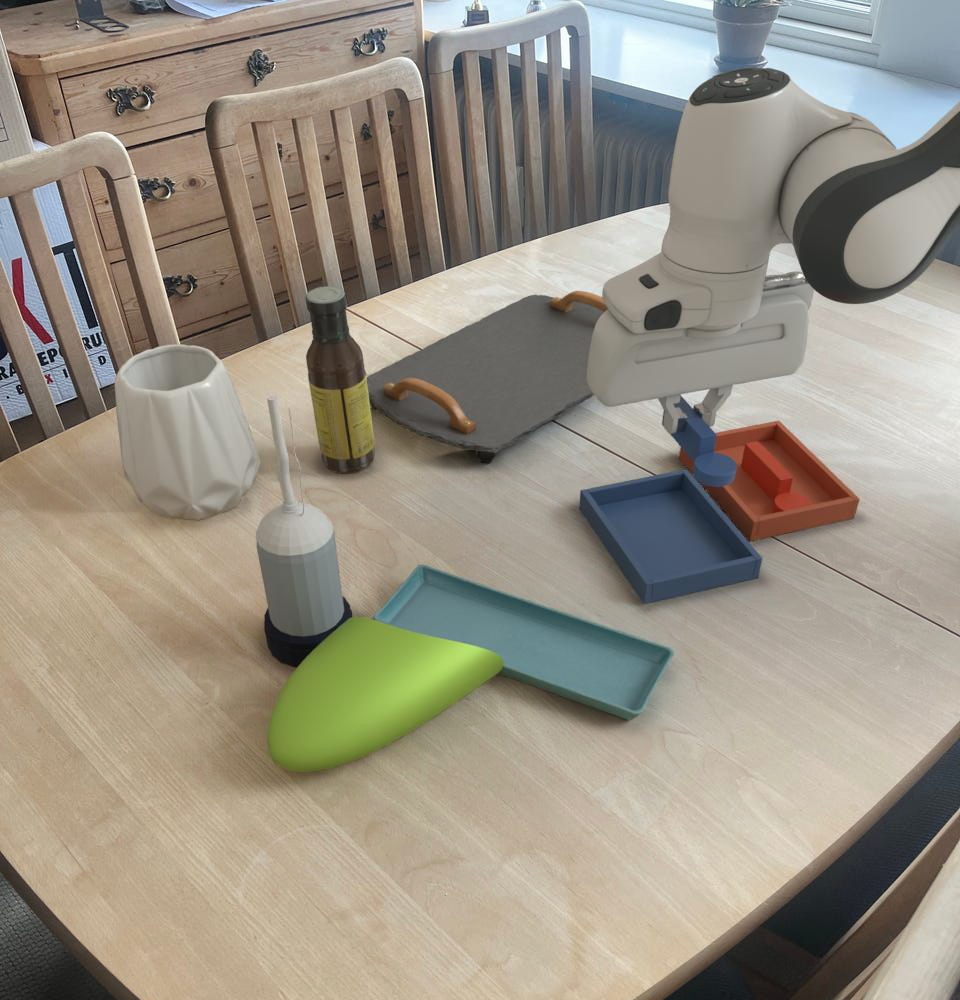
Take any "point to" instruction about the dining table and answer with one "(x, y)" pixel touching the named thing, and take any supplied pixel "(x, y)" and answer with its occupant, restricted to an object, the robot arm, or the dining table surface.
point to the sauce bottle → (338, 385)
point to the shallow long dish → (532, 640)
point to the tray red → (809, 480)
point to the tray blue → (668, 536)
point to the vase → (183, 433)
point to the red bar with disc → (771, 478)
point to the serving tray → (494, 375)
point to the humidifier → (297, 567)
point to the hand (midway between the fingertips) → (687, 427)
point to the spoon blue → (703, 450)
